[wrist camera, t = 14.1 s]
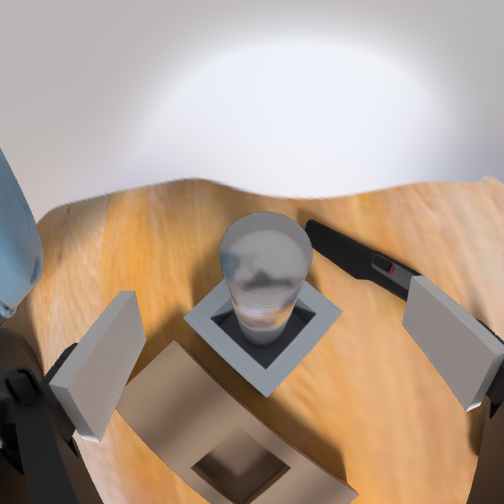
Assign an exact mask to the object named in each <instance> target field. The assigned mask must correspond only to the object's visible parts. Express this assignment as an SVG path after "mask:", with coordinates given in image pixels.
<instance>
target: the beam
mask: <svg viewBox="0 0 504 504" xmlns="http://www.w3.org/2000/svg"><path fill="white" fill-rule="evenodd" d="M115 409H116V410H117V411H118V413H119V414H120V415H121V416H122V418H123V419H124V420H125V421H126V422H127V423H128V425H129V426H130V427H131V428H132V429H133V430H134V431H135V433H136V434H137V435H138V436H139V437H140V438H141V439H142V440H143V441H144V442H145V444H146V445H147V446H148V447H149V448H150V449H151V450H152V451H153V452H154V453H155V454H156V455H157V456H158V457H159V458H160V459H161V460H162V461H163V462H164V463H165V464H166V465H167V466H168V467H169V468H170V469H171V470H172V471H173V472H175V473H176V474H177V475H178V476H179V477H180V478H181V479H182V480H183V481H184V482H186V483H187V484H188V485H189V486H190V487H191V488H193V489H194V490H195V491H196V492H197V493H198V494H200V495H201V496H202V497H203V498H205V499H206V500H207V501H208V502H210V503H211V504H350V503H351V502H352V501H353V500H354V499H355V498H356V497H357V496H358V495H359V494H358V493H357V492H356V491H355V490H354V489H353V488H352V487H351V486H350V485H349V484H348V483H347V482H345V481H343V480H342V479H340V478H339V477H337V476H336V475H335V474H333V473H332V472H330V471H329V470H327V469H326V468H324V467H323V466H322V465H320V464H319V463H317V462H316V461H315V460H313V459H312V458H311V457H309V456H308V455H307V454H305V453H304V452H303V451H301V450H300V449H299V448H297V447H296V446H295V445H293V444H292V443H291V442H290V441H288V440H287V439H286V438H285V437H283V436H282V435H281V434H280V433H278V432H277V431H276V430H275V429H273V428H272V427H271V426H270V425H269V424H267V423H266V422H265V421H264V420H263V419H261V418H260V417H259V416H258V415H257V414H256V413H254V412H253V411H252V410H251V409H250V408H249V407H248V406H246V405H245V404H244V403H243V402H242V401H241V400H240V399H239V398H238V397H236V396H235V395H234V394H233V393H232V392H231V391H230V390H229V389H228V388H227V387H226V386H225V385H223V384H222V383H221V382H220V381H219V380H218V379H217V378H216V377H215V376H214V375H213V374H212V373H211V372H210V371H209V370H208V369H207V368H206V367H205V366H204V365H203V364H202V363H201V362H200V361H199V360H198V359H197V358H196V357H195V356H194V355H193V354H192V353H191V352H190V351H189V350H188V349H187V348H186V347H185V346H184V345H182V344H181V343H179V342H177V341H176V340H173V341H172V342H171V343H170V344H169V345H168V346H167V347H166V348H165V349H164V350H163V351H162V352H161V353H160V354H159V355H157V356H156V357H155V358H154V359H153V360H152V361H151V362H150V363H149V364H148V365H147V366H146V367H145V368H144V369H143V370H142V371H141V372H140V373H139V374H138V375H137V376H136V377H135V378H133V379H132V380H131V381H130V382H129V383H128V384H127V385H126V386H125V387H124V389H123V391H122V394H121V396H120V398H119V400H118V402H117V405H116V407H115Z"/></svg>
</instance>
